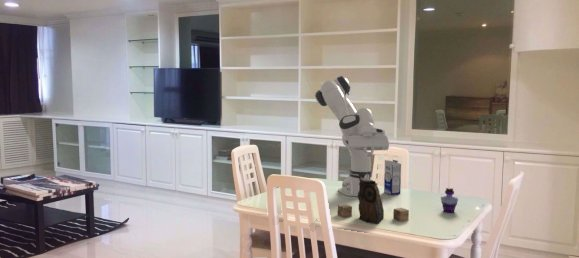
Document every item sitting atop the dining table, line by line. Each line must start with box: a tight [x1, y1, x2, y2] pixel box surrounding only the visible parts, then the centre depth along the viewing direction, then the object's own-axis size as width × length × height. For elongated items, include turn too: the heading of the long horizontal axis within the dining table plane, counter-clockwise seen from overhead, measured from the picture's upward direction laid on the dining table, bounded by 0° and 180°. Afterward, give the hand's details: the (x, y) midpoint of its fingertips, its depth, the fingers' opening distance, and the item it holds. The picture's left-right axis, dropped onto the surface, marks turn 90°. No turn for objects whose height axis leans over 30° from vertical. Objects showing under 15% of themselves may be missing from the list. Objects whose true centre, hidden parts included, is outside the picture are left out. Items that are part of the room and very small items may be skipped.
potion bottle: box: [440, 187, 459, 214], centre depth 233 cm, size 9×9×12 cm
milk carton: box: [383, 159, 402, 196], centre depth 271 cm, size 7×7×20 cm
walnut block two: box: [392, 207, 410, 222], centre depth 219 cm, size 5×5×5 cm
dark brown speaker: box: [357, 177, 385, 225], centre depth 218 cm, size 13×13×20 cm
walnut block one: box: [337, 203, 353, 219], centre depth 225 cm, size 5×5×5 cm
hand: (369, 156), depth 225 cm, fingers closed
